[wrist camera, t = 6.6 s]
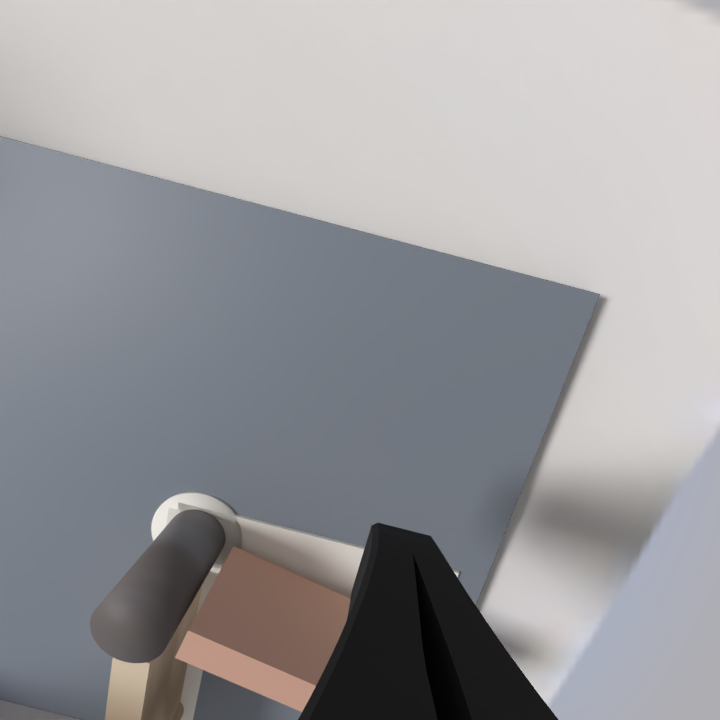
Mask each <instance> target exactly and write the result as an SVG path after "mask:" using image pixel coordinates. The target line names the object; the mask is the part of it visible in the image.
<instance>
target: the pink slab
mask: <svg viewBox="0 0 720 720" xmlns="http://www.w3.org/2000/svg"><path fill="white" fill-rule="evenodd" d="M349 605H350V598H348V597H346V596H343V595H341V594H339V593H337V592H334V591H332V590H330V589H328V588H326V587H323V586H321V585H319V584H317V583H314V582H312V581H310V580H308V579H306V578H303V577H301V576H299V575H297V574H294V573H292V572H290V571H288V570H286V569H283V568H281V567H279V566H277V565H274V564H272V563H270V562H268V561H266V560H263V559H261V558H259V557H257V556H255V555H252V554H250V553H248V552H246V551H243V550H241V549H239V548H237V547H235V546H233V548H232V550H231V551H230V553H229V555H228V557H227V559H226V561H225V563H224V564H223V566H222V568H221V570H220V572H219V574H218V576H217V577H216V579H215V581H214V583H213V585H212V587H211V589H210V591H209V592H208V594H207V596H206V598H205V600H204V602H203V604H202V605H201V607H200V609H199V611H198V613H197V615H196V617H195V618H194V620H193V622H192V624H191V626H190V628H189V630H188V632H187V634H186V636H185V638H184V640H183V642H182V644H181V646H180V648H179V650H178V652H177V654H176V657H175V658H177V659H179V660H181V661H184V662H186V663H188V664H191V665H193V666H195V667H198V668H200V669H202V670H205V671H207V672H209V673H212V674H214V675H216V676H219V677H221V678H223V679H226V680H228V681H230V682H233V683H235V684H237V685H240V686H242V687H244V688H247V689H249V690H251V691H254V692H256V693H258V694H261V695H263V696H265V697H268V698H270V699H273V700H275V701H277V702H280V703H282V704H284V705H287V706H289V707H291V708H294V709H296V710H298V711H301V712H302V711H303V710H304V708H305V706H306V704H307V702H308V700H309V699H310V697H311V695H312V693H313V691H314V689H315V687H316V685H317V683H318V681H319V679H320V677H321V675H322V673H323V671H324V669H325V667H326V665H327V663H328V661H329V659H330V657H331V655H332V653H333V650H334V648H335V646H336V644H337V642H338V640H339V638H340V635H341V633H342V631H343V628H344V626H345V623H346V621H347V616H348V611H349Z"/></svg>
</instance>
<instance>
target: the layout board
mask: <svg viewBox="0 0 720 720" xmlns="http://www.w3.org/2000/svg"><path fill="white" fill-rule="evenodd" d="M599 295H600V294H597V293H593V292H589V291H586V290H582V289H578V288H574V287H570V286H567V285H563V284H559V283H555V282H551V281H548V280H544V279H540V278H536V277H532V276H529V275H525V274H521V273H517V272H513V271H510V270H506V269H502V268H498V267H494V266H491V265H487V264H483V263H479V262H475V261H472V260H468V259H464V258H460V257H456V256H453V255H449V254H445V253H441V252H437V251H434V250H430V249H426V248H422V247H418V246H415V245H411V244H407V243H403V242H400V241H396V240H392V239H388V238H384V237H381V236H377V235H373V234H369V233H365V232H362V231H358V230H354V229H350V228H346V227H343V226H339V225H335V224H331V223H327V222H324V221H320V220H316V219H312V218H308V217H305V216H301V215H297V214H293V213H289V212H286V211H282V210H278V209H274V208H270V207H267V206H263V205H259V204H255V203H251V202H248V201H244V200H240V199H236V198H232V197H229V196H225V195H221V194H217V193H213V192H210V191H206V190H202V189H198V188H194V187H191V186H187V185H183V184H179V183H175V182H172V181H168V180H164V179H160V178H157V177H153V176H149V175H145V174H141V173H138V172H134V171H130V170H126V169H122V168H119V167H115V166H111V165H107V164H103V163H100V162H96V161H92V160H88V159H84V158H81V157H77V156H73V155H69V154H65V153H62V152H58V151H54V150H50V149H46V148H43V147H39V146H35V145H31V144H27V143H24V142H20V141H16V140H12V139H8V138H5V137H1V136H0V700H4V701H8V702H12V703H16V704H21V705H25V706H29V707H33V708H37V709H41V710H45V711H49V712H53V713H57V714H61V715H65V716H69V717H73V718H78V719H82V720H105V714H106V706H107V698H108V690H109V682H110V675H111V667H112V659H113V657H112V656H110V655H108V654H107V653H106V652H104V651H103V650H102V649H101V648H100V647H99V646H98V644H97V643H96V642H95V640H94V638H93V636H92V633H91V630H90V620H91V616H92V614H93V612H94V610H95V609H96V608H97V607H98V605H99V604H100V603H101V602H102V601H103V600H104V598H105V597H106V596H107V595H108V594H109V593H110V591H111V590H112V589H113V588H114V587H115V586H116V584H117V583H118V582H119V581H120V580H121V579H122V577H123V576H124V575H125V574H126V573H127V572H128V570H129V569H130V568H131V567H132V566H133V565H134V563H135V562H136V561H137V560H138V559H139V557H140V556H141V555H142V554H143V553H144V552H145V550H146V549H147V548H148V547H149V546H150V545H151V543H152V542H153V541H154V540H155V539H156V538H157V536H158V535H159V534H160V533H161V532H162V531H163V529H164V528H165V527H166V526H167V525H168V524H169V522H170V521H171V520H172V519H173V518H174V517H175V516H176V515H177V514H178V513H180V512H182V511H185V510H193V509H194V510H201V511H204V512H207V513H209V514H211V515H212V516H214V517H215V518H216V519H217V520H218V521H219V522H220V523H221V525H222V527H223V529H224V532H225V545H224V547H223V549H222V551H221V553H220V554H219V556H218V558H217V560H216V561H215V563H214V565H213V567H212V568H211V570H210V572H209V574H208V575H207V577H206V579H205V581H204V582H203V584H202V589H201V595H200V600H199V605H198V611H199V609H200V607H201V605H202V604H203V602H204V600H205V598H206V596H207V594H208V592H209V591H210V589H211V587H212V585H213V583H214V581H215V579H216V577H217V576H218V574H219V572H220V570H221V568H222V566H223V564H224V563H225V561H226V559H227V557H228V555H229V553H230V551H231V550H232V548H233V546H235V547H237V548H239V549H241V550H243V551H246V552H248V553H250V554H252V555H255V556H257V557H259V558H261V559H263V560H266V561H268V562H270V563H272V564H274V565H277V566H279V567H281V568H283V569H286V570H288V571H290V572H292V573H294V574H297V575H299V576H301V577H303V578H306V579H308V580H310V581H312V582H314V583H317V584H319V585H321V586H323V587H326V588H328V589H330V590H332V591H334V592H337V593H339V594H341V595H343V596H346V597H348V598H351V592H352V588H353V585H354V582H355V579H356V575H357V572H358V569H359V565H360V562H361V559H362V555H363V552H364V549H365V545H366V542H367V539H368V535H369V532H370V529H371V526H372V525H374V524H376V523H382V524H386V525H390V526H394V527H398V528H402V529H406V530H409V531H413V532H417V533H421V534H425V535H429V536H431V537H432V538H433V540H434V541H435V543H436V544H437V546H438V547H439V549H440V551H441V552H442V554H443V555H444V557H445V559H446V560H447V562H448V563H449V565H450V566H451V568H452V570H453V571H454V573H455V574H456V576H457V578H458V579H459V581H460V582H461V584H462V585H463V587H464V589H465V590H466V592H467V593H468V595H469V596H470V598H471V599H472V601H473V602H474V604H475V605H476V603H477V601H478V598H479V596H480V593H481V591H482V588H483V586H484V583H485V581H486V578H487V576H488V573H489V571H490V568H491V566H492V563H493V561H494V558H495V555H496V553H497V550H498V548H499V545H500V543H501V540H502V538H503V535H504V533H505V530H506V528H507V525H508V523H509V520H510V518H511V515H512V513H513V510H514V508H515V505H516V503H517V500H518V498H519V495H520V493H521V490H522V488H523V485H524V483H525V480H526V478H527V475H528V473H529V470H530V468H531V465H532V463H533V460H534V458H535V455H536V453H537V450H538V448H539V445H540V443H541V440H542V438H543V435H544V433H545V430H546V428H547V425H548V423H549V420H550V418H551V415H552V413H553V410H554V408H555V405H556V403H557V400H558V398H559V395H560V393H561V390H562V388H563V385H564V383H565V380H566V378H567V375H568V373H569V370H570V368H571V365H572V363H573V360H574V358H575V355H576V353H577V350H578V348H579V345H580V342H581V340H582V337H583V335H584V332H585V330H586V327H587V325H588V322H589V320H590V317H591V315H592V312H593V310H594V307H595V305H596V302H597V300H598V297H599ZM198 611H197V613H198ZM180 702H181V703H182V705H183V708H184V713H183V715H182V717H181V720H298V719H299V717H300V715H301V713H302V712H301V711H298V710H296V709H294V708H291V707H289V706H287V705H284V704H282V703H280V702H277V701H275V700H273V699H270V698H268V697H265V696H263V695H261V694H258V693H256V692H254V691H251V690H249V689H247V688H244V687H242V686H240V685H237V684H235V683H233V682H230V681H228V680H226V679H223V678H221V677H219V676H216V675H214V674H212V673H209V672H207V671H205V670H202V669H200V668H198V667H195V666H193V665H191V664H187V669H186V675H185V680H184V685H183V690H182V696H181V701H180Z"/></svg>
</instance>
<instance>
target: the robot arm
mask: <svg viewBox="0 0 720 720" xmlns="http://www.w3.org/2000/svg"><path fill="white" fill-rule="evenodd" d="M298 720H558V719H557V717H556V716H555V715H554V713H553V712H552V711H551V710H550V708H549V707H548V706H547V704H546V703H545V702H544V701H543V699H542V698H541V697H540V695H539V694H538V693H537V692H536V690H535V689H534V687H533V686H532V685H531V683H530V682H529V681H528V679H527V678H526V677H525V675H524V674H523V673H522V671H521V670H520V668H519V667H518V666H517V664H516V663H515V662H514V660H513V659H512V658H511V656H510V655H509V653H508V652H507V651H506V649H505V648H504V646H503V645H502V644H501V642H500V641H499V639H498V638H497V636H496V635H495V634H494V632H493V631H492V629H491V628H490V626H489V625H488V623H487V622H486V620H485V619H484V617H483V616H482V614H481V613H480V611H479V610H478V608H477V607H476V605H475V604H474V602H473V601H472V599H471V598H470V596H469V595H468V593H467V592H466V590H465V589H464V587H463V585H462V584H461V582H460V581H459V579H458V578H457V576H456V574H455V573H454V571H453V570H452V568H451V566H450V565H449V563H448V562H447V560H446V559H445V557H444V555H443V554H442V552H441V551H440V549H439V547H438V546H437V544H436V543H435V541H434V540H433V538H432V537H431V536H429V535H425V534H421V533H417V532H413V531H409V530H406V529H402V528H398V527H394V526H390V525H386V524H382V523H376V524H374V525H372V526H371V529H370V532H369V535H368V539H367V542H366V545H365V549H364V552H363V555H362V559H361V562H360V565H359V569H358V572H357V575H356V579H355V582H354V585H353V588H352V592H351V598H350V605H349V611H348V616H347V621H346V623H345V626H344V628H343V631H342V633H341V635H340V638H339V640H338V642H337V644H336V646H335V648H334V650H333V653H332V655H331V657H330V659H329V661H328V663H327V665H326V667H325V669H324V671H323V673H322V675H321V677H320V679H319V681H318V683H317V685H316V687H315V689H314V691H313V693H312V695H311V697H310V699H309V700H308V702H307V704H306V706H305V708H304V710H303V711H302V713H301V715H300V717H299V719H298Z"/></svg>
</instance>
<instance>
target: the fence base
mask: <svg viewBox="0 0 720 720" xmlns="http://www.w3.org/2000/svg"><path fill="white" fill-rule="evenodd" d="M224 545H225V532H224V529H223V527H222V525H221V523H220V522H219V521H218V520H217V519H216V518H215V517H214V516H212V515H211V514H209V513H207V512H204V511H201V510H194V509H193V510H185V511H182V512H180V513H178V514H177V515H176V516H175V517H174V518H173V519H172V520H171V521H170V522H169V524H168V525H167V526H166V527H165V528H164V529H163V531H162V532H161V533H160V534H159V535H158V536H157V538H156V539H155V540H154V541H153V542H152V543H151V545H150V546H149V547H148V548H147V549H146V550H145V552H144V553H143V554H142V555H141V556H140V557H139V559H138V560H137V561H136V562H135V563H134V565H133V566H132V567H131V568H130V569H129V570H128V572H127V573H126V574H125V575H124V576H123V577H122V579H121V580H120V581H119V582H118V583H117V584H116V586H115V587H114V588H113V589H112V590H111V591H110V593H109V594H108V595H107V596H106V597H105V598H104V600H103V601H102V602H101V603H100V604H99V605H98V607H97V608H96V609H95V610H94V612H93V614H92V616H91V620H90V630H91V633H92V636H93V638H94V640H95V642H96V643H97V644H98V646H99V647H100V648H101V649H102V650H103V651H104V652H106V653H107V654H108V655H110V656H112V657H113V659H112V667H111V675H110V682H109V690H108V698H107V706H106V714H105V720H181V717H182V715H183V713H184V708H183V705H182V703H181V702H180V701H181V696H182V690H183V685H184V680H185V675H186V669H187V664H188V663H186V662H184V661H181V660H179V659H177V658H175V657H176V654H177V652H178V650H179V648H180V646H181V644H182V642H183V640H184V638H185V636H186V634H187V632H188V630H189V628H190V626H191V624H192V622H193V620H194V618H195V617H196V615H197V611H198V605H199V600H200V595H201V589H202V584H203V582H204V581H205V579H206V577H207V575H208V574H209V572H210V570H211V568H212V567H213V565H214V563H215V561H216V560H217V558H218V556H219V554H220V553H221V551H222V549H223V547H224Z"/></svg>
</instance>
